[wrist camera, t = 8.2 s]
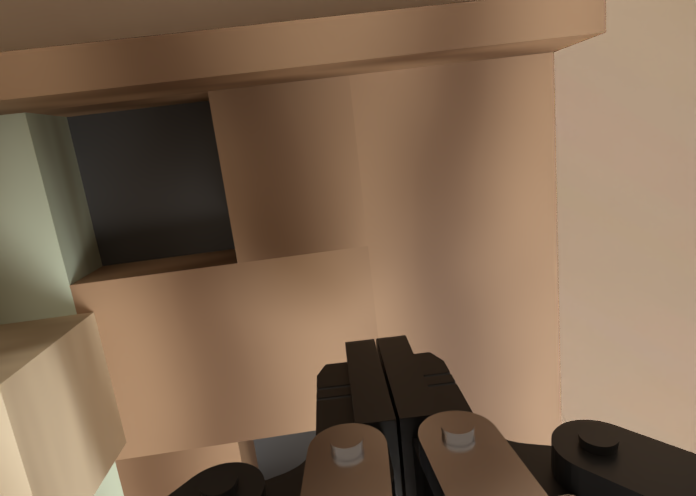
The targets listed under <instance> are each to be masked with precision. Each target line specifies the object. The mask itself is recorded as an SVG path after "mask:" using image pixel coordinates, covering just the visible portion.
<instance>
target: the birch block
mask: <svg viewBox="0 0 696 496" xmlns="http://www.w3.org/2000/svg"><path fill="white" fill-rule="evenodd" d="M126 443H127V442H126V438H125V434H124V430H123V426H122V423H121V419H120V415H119V411H118V407H117V403H116V399H115V395H114V391H113V387H112V383H111V379H110V375H109V371H108V367H107V363H106V359H105V355H104V351H103V347H102V343H101V339H100V335H99V331H98V327H97V323H96V319H95V315H94V312H90V313H83V314H76V315H68V316H61V317H53V318H46V319H39V320H31V321H24V322H17V323H9V324H2V325H0V496H94V494H95V493H96V491H97V489H98V488H99V486H100V485H101V483H102V481H103V480H104V478H105V477H106V475H107V473H108V472H109V470H110V468H111V467H112V465H113V464H114V462H115V460H116V459H117V457H118V456H119V454H120V452H121V451H122V449H123V447H124V446H125V444H126Z"/></svg>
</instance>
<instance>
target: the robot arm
mask: <svg viewBox="0 0 696 496" xmlns="http://www.w3.org/2000/svg"><path fill="white" fill-rule="evenodd" d="M345 347H346V357H347V362H342V363H334V364H326V365H325V366H324V367H323V368H322V370H321V371H320V372H319V374H318V375H317V394H316V399H317V401H316V436H315V437H314V438H313V440H312V441H311V442H310V444H309V446H308V450H307V456H306V460H305V461H304V462H303V463H302V464H300V465H299V466H297V467H296V468H294V469H292V470H290V471H288V472H286V473H284V474H281V475H278V476H276V477H273V478H270V479H267V480H264V476H263V474H262V472H261V471H260V470H259V469H258V468H257V467H255V466H253V465H251V464H248V463H242V462H230V463H223V464H219V465H216V466H213V467H210V468H208V469H205V470H204V471H202V472H200V473H198V474H197V475H195V476H194V477H192V478H191V479H190V480H188V481H187V482H186V483H184V484H183V485H182V486H180V487H179V488H178V489H176V490H175V491H174V492H172V493H171V494H170V495H168V496H696V454H694V453H692V452H689V451H686V450H683V449H680V448H678V447H675V446H672V445H669V444H666V443H663V442H661V441H658V440H655V439H652V438H649V437H647V436H644V435H641V434H638V433H635V432H632V431H630V430H627V429H624V428H621V427H618V426H616V425H612V424H609V423H605V422H601V421H594V420H575V421H570V422H566V423H563V424H561V425H559V426H558V427H557V428H556V429H555V430H554V431H553V433H552V436H551V446H549V445H538V444H526V443H519V442H514V441H509V440H506V439H505V438H504V437H503V435H502V434H501V433H500V431H499V430H498V429H497V427H496V426H495V425H494V424H493V423H492V422H491V421H490V420H488V419H487V418H485V417H483V416H481V415H478V414H475V413H473V412H472V410H471V408H470V406H469V405H468V403H467V401H466V399H465V398H464V396H463V394H462V392H461V390H460V389H459V387H458V385H457V384H456V382H455V380H454V378H453V376H452V374H450V371H449V369H448V367H447V366H446V364H445V362H444V361H443V360H442V359H440V358H439V357H437V356H435V355H434V354H432V353H431V352H426V353H417V354H414V353H413V351H412V348H411V346H410V344H409V342H408V339H407V337H406V335H401V336H393V337H384V338H376V344H375V341H374V339H368V340H359V341H351V342H345Z"/></svg>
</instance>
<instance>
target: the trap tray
mask: <svg viewBox="0 0 696 496" xmlns="http://www.w3.org/2000/svg"><path fill="white" fill-rule="evenodd" d="M605 32H606V0H478V1H468V2H459V3H450V4H441V5H431V6H422V7H413V8H404V9H394V10H385V11H376V12H366V13H357V14H348V15H339V16H329V17H320V18H311V19H302V20H292V21H283V22H274V23H264V24H255V25H246V26H237V27H227V28H218V29H209V30H199V31H190V32H181V33H172V34H162V35H153V36H144V37H135V38H125V39H116V40H107V41H97V42H88V43H79V44H70V45H60V46H51V47H42V48H33V49H23V50H14V51H5V52H0V325H2V324H9V323H17V322H24V321H31V320H39V319H46V318H53V317H61V316H68V315H76V314H83V313H90V312H94V315H95V319H96V323H97V327H98V331H99V335H100V339H101V343H102V347H103V351H104V355H105V359H106V363H107V367H108V371H109V375H110V379H111V383H112V387H113V391H114V395H115V399H116V403H117V407H118V411H119V415H120V419H121V423H122V426H123V430H124V434H125V438H126V442H127V443H126V444H125V446H124V447H123V449H122V451H121V452H120V454H119V456H118V457H117V459H116V460H115V462H114V464H113V465H112V467H111V468H110V470H109V472H108V473H107V475H106V477H105V478H104V480H103V481H102V483H101V485H100V486H99V488H98V489H97V491H96V493H95V494H94V496H168V495H170V494H171V493H172V492H174V491H175V490H176V489H178V488H179V487H180V486H182V485H183V484H184V483H186V482H187V481H188V480H190V479H191V478H192V477H194V476H195V475H197V474H198V473H200V472H202V471H204V470H205V469H208V468H210V467H213V466H216V465H219V464H223V463H230V462H242V463H248V464H251V465H253V466H255V467H257V468H258V469H259V470H260V471H261V472H262V474H263V476H264V480H267V479H270V478H273V477H276V476H278V475H281V474H284V473H286V472H288V471H290V470H292V469H294V468H296V467H297V466H299V465H300V464H302V463H303V462H304V461H305V460H306V456H307V450H308V446H309V444H310V442H311V441H312V440H313V438H314V437H315V436H316V401H317V399H316V394H317V375H318V374H319V372H320V371H321V370H322V368H323V367H324V366H325V365H326V364H334V363H342V362H347V357H346V347H345V342H351V341H359V340H368V339H374V341H375V344H376V338H384V337H393V336H401V335H406V337H407V339H408V342H409V344H410V346H411V348H412V351H413V353H414V354H417V353H426V352H431V353H432V354H434V355H435V356H437V357H439V358H440V359H442V360H443V361H444V362H445V364H446V366H447V367H448V369H449V371H450V374H452V376H453V378H454V380H455V382H456V384H457V385H458V387H459V389H460V390H461V392H462V394H463V396H464V398H465V399H466V401H467V403H468V405H469V406H470V408H471V410H472V412H473V413H475V414H478V415H481V416H483V417H485V418H487V419H488V420H490V421H491V422H492V423H493V424H494V425H495V426H496V427H497V429H498V430H499V431H500V433H501V434H502V435H503V437H504V438H505V439H506V440H509V441H514V442H519V443H526V444H538V445H549V446H551V436H552V433H553V431H554V430H555V429H556V428H557V427H558V426H559V425H561V382H560V333H559V284H558V235H557V186H556V137H555V88H554V52H555V51H558V50H560V49H563V48H566V47H568V46H571V45H574V44H576V43H579V42H582V41H584V40H587V39H589V38H592V37H595V36H597V35H600V34H603V33H605Z"/></svg>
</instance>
